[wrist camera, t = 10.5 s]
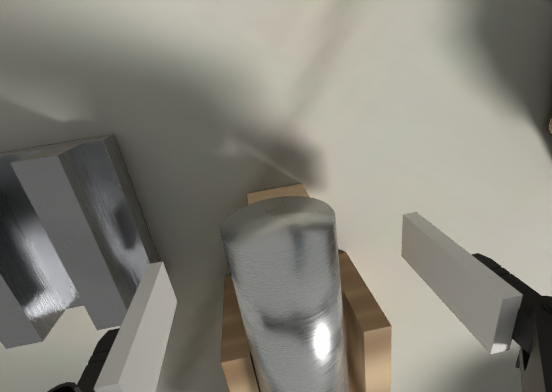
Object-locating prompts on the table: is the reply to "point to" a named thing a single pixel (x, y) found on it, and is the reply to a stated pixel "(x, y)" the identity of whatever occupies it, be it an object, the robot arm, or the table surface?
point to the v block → (68, 237)
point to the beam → (357, 324)
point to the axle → (289, 292)
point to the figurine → (550, 125)
